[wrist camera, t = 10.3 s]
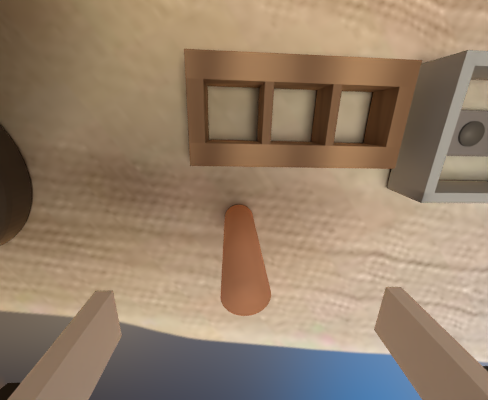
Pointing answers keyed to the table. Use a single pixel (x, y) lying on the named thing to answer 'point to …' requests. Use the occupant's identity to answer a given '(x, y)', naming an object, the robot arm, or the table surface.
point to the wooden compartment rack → (326, 109)
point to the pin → (243, 265)
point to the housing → (442, 132)
